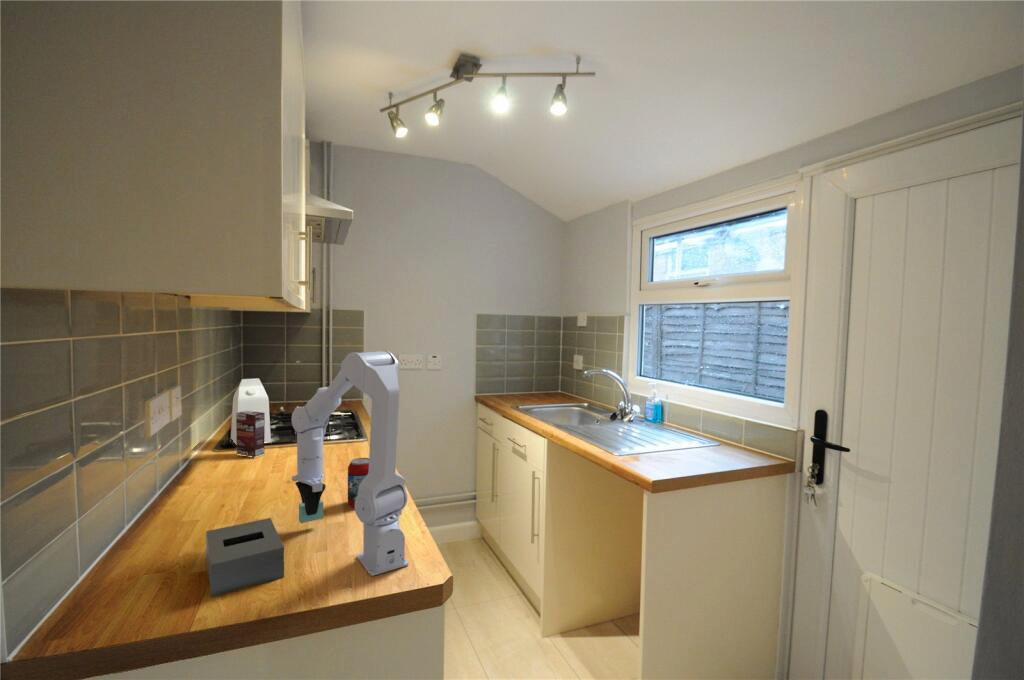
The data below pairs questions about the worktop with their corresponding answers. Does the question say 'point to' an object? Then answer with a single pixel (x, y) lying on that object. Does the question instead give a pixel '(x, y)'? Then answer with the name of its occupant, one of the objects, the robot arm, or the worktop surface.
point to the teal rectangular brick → (305, 518)
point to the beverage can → (356, 477)
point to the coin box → (243, 556)
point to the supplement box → (250, 433)
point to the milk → (251, 404)
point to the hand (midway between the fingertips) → (310, 512)
